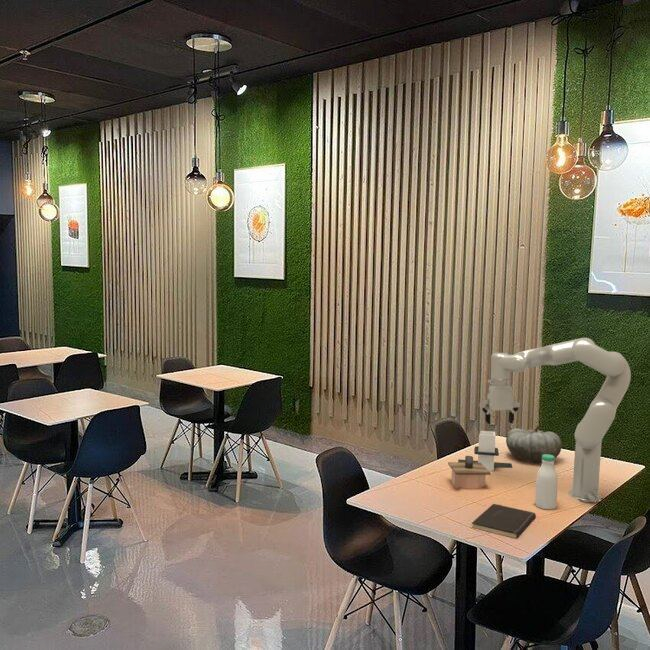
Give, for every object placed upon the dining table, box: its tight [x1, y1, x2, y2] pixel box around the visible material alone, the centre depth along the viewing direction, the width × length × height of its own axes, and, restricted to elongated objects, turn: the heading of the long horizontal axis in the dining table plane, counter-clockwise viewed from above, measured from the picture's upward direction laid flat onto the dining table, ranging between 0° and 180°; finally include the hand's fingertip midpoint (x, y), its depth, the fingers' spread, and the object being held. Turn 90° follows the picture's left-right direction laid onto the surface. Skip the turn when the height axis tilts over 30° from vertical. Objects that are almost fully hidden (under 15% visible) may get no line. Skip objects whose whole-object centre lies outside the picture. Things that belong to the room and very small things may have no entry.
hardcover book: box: [471, 503, 537, 539], centre depth 234 cm, size 16×23×2 cm
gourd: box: [505, 425, 563, 464], centre depth 312 cm, size 25×25×17 cm
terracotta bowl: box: [451, 469, 486, 490], centre depth 273 cm, size 13×13×7 cm
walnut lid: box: [447, 455, 491, 476], centre depth 272 cm, size 14×14×5 cm
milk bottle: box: [534, 454, 559, 511], centre depth 250 cm, size 8×8×20 cm
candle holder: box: [457, 430, 513, 472], centre depth 295 cm, size 25×24×16 cm
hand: (499, 422), depth 274 cm, fingers open, 9 cm apart
